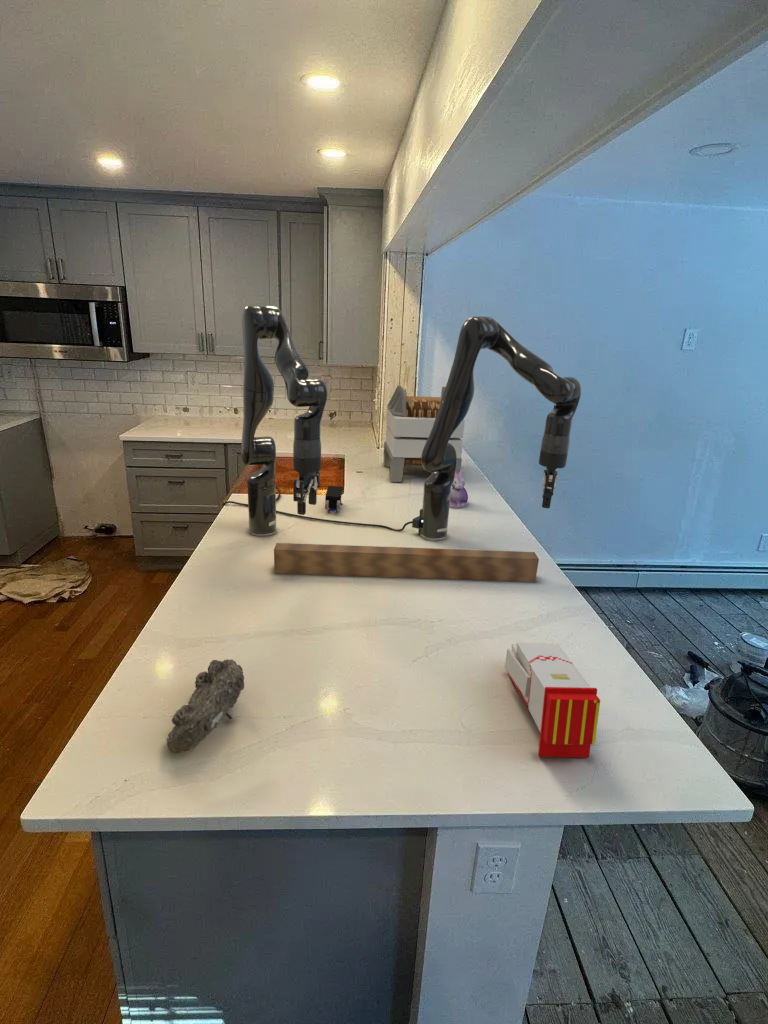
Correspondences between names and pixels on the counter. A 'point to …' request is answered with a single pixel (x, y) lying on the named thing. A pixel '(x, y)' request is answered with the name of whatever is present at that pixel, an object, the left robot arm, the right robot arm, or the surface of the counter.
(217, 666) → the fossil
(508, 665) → the toy
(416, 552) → the post
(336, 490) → the figurine character
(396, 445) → the transformer
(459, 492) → the figurine
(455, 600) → the counter surface
